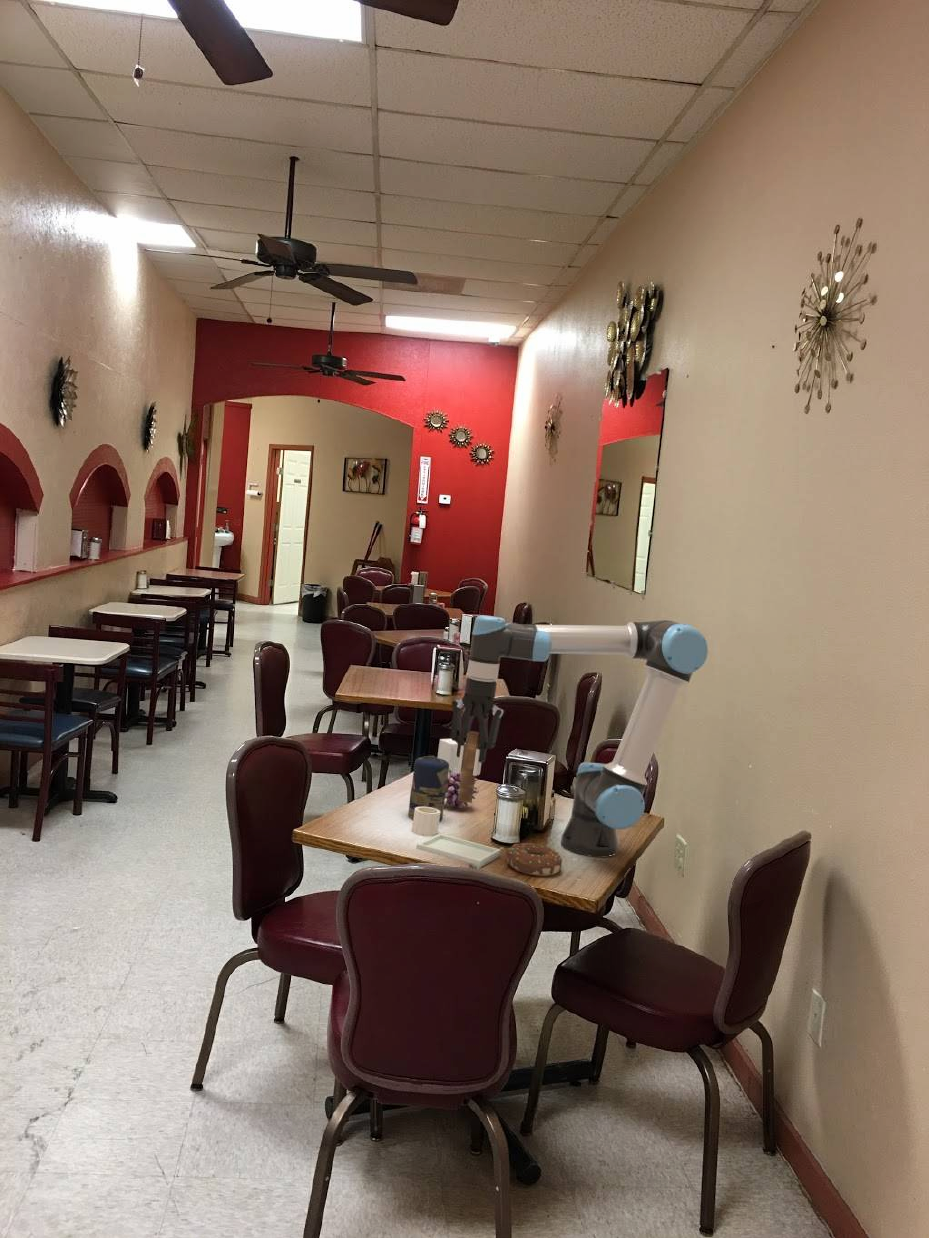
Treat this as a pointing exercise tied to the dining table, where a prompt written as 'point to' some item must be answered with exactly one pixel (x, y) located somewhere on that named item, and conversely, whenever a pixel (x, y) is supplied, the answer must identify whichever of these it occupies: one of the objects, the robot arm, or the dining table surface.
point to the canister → (429, 784)
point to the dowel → (468, 767)
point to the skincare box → (449, 753)
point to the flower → (455, 788)
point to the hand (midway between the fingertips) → (468, 772)
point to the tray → (460, 850)
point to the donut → (534, 859)
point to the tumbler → (426, 821)
